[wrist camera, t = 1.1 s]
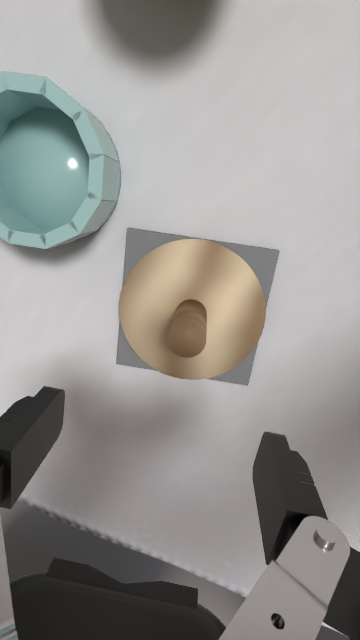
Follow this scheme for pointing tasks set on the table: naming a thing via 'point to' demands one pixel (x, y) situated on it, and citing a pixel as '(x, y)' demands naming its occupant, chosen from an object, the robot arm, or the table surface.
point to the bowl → (52, 165)
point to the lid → (192, 309)
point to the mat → (255, 257)
